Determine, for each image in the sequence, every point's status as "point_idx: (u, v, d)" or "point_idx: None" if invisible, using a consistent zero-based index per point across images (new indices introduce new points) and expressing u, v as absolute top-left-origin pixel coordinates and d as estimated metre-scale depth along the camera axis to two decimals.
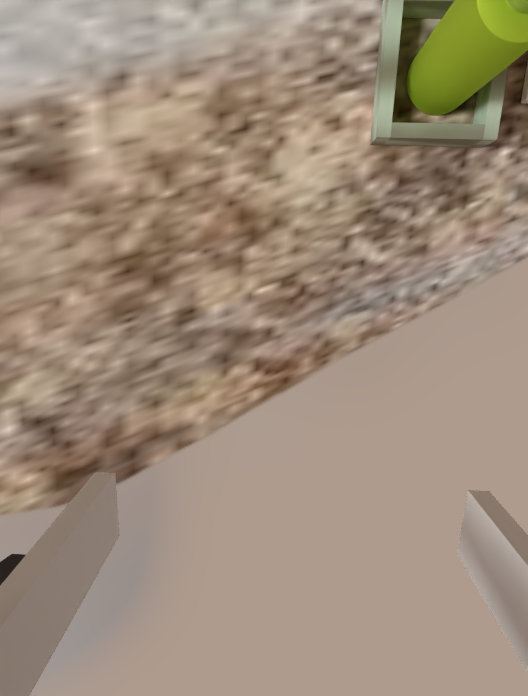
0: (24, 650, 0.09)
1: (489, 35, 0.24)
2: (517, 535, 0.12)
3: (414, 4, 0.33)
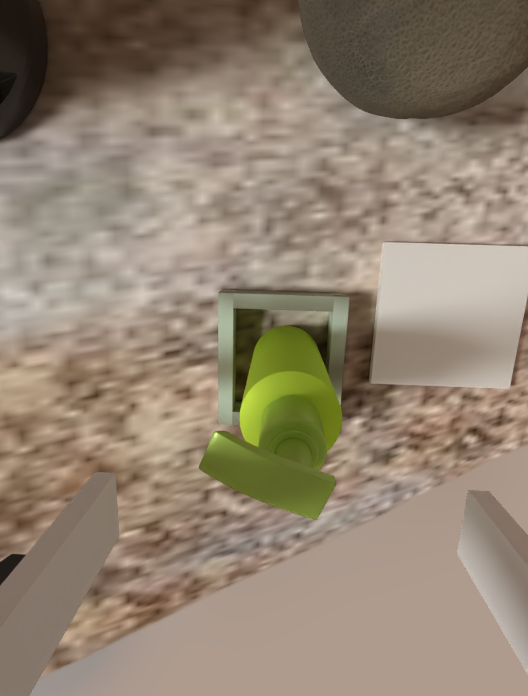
0: (24, 650, 0.09)
1: None
2: (517, 535, 0.12)
3: None
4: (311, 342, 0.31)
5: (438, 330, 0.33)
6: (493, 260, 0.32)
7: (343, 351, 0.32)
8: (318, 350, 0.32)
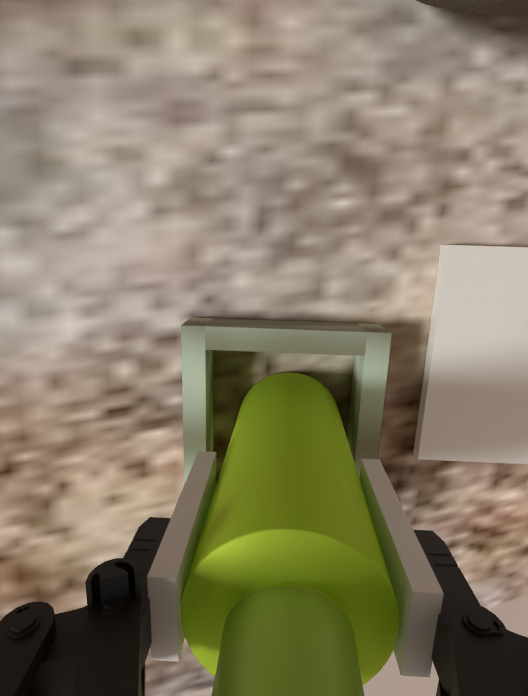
0: None
1: None
2: (386, 492, 0.14)
3: None
4: (328, 406, 0.19)
5: (525, 381, 0.21)
6: None
7: (380, 417, 0.20)
8: (339, 417, 0.20)
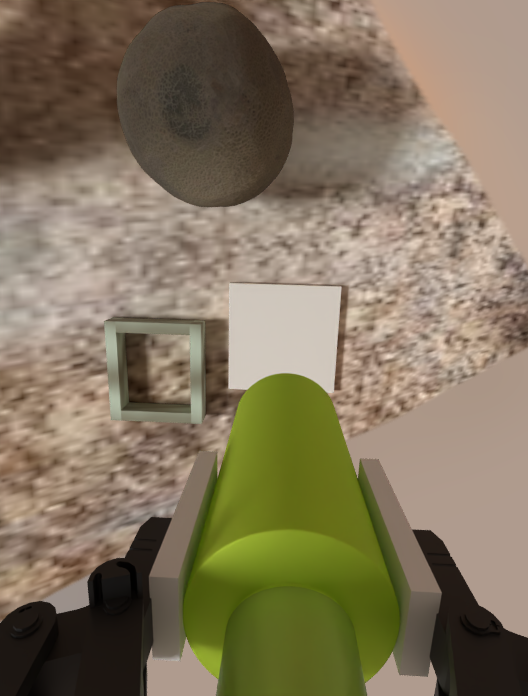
0: None
1: None
2: (384, 492, 0.14)
3: None
4: (325, 407, 0.20)
5: (275, 348, 0.44)
6: (310, 296, 0.42)
7: (200, 364, 0.43)
8: (336, 417, 0.20)
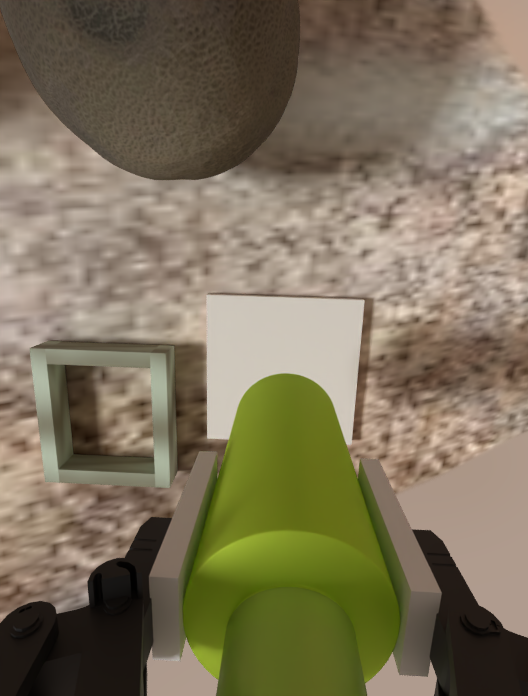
0: None
1: None
2: (384, 492, 0.14)
3: None
4: (325, 407, 0.20)
5: None
6: (320, 313, 0.30)
7: (165, 408, 0.31)
8: (336, 417, 0.20)
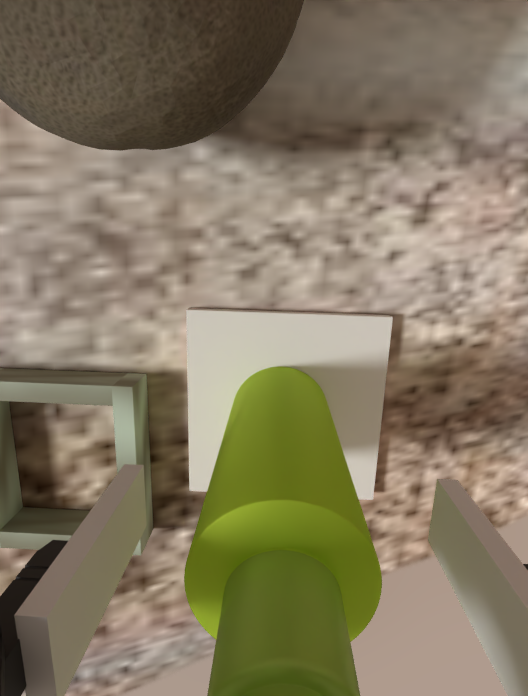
0: (72, 627, 0.10)
1: None
2: (478, 519, 0.13)
3: None
4: (317, 397, 0.21)
5: None
6: (335, 334, 0.23)
7: (133, 457, 0.24)
8: (328, 407, 0.21)
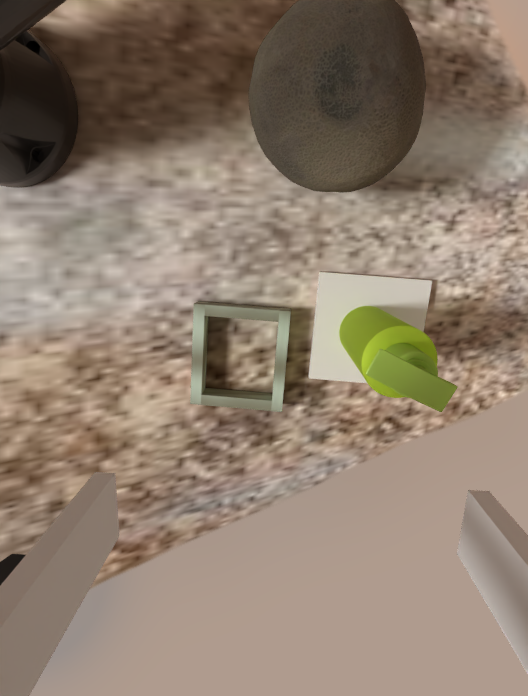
0: (24, 650, 0.09)
1: (373, 388, 0.32)
2: (517, 535, 0.12)
3: None
4: None
5: None
6: (400, 289, 0.42)
7: (285, 352, 0.43)
8: None
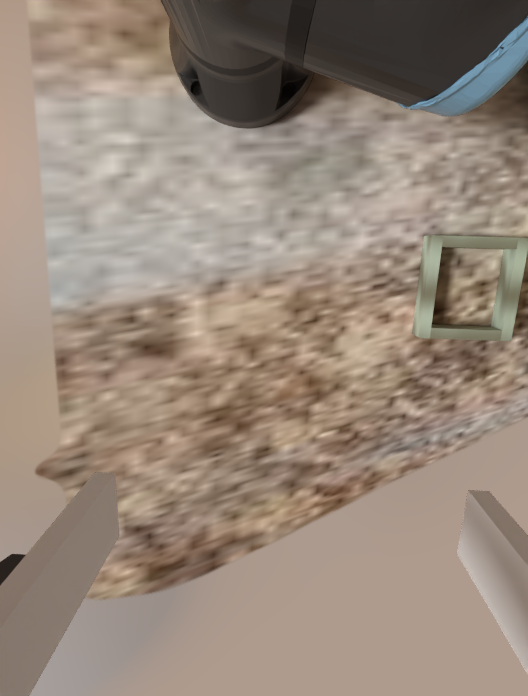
0: (24, 650, 0.09)
1: None
2: (517, 535, 0.12)
3: None
4: None
5: None
6: None
7: (521, 279, 0.43)
8: None
